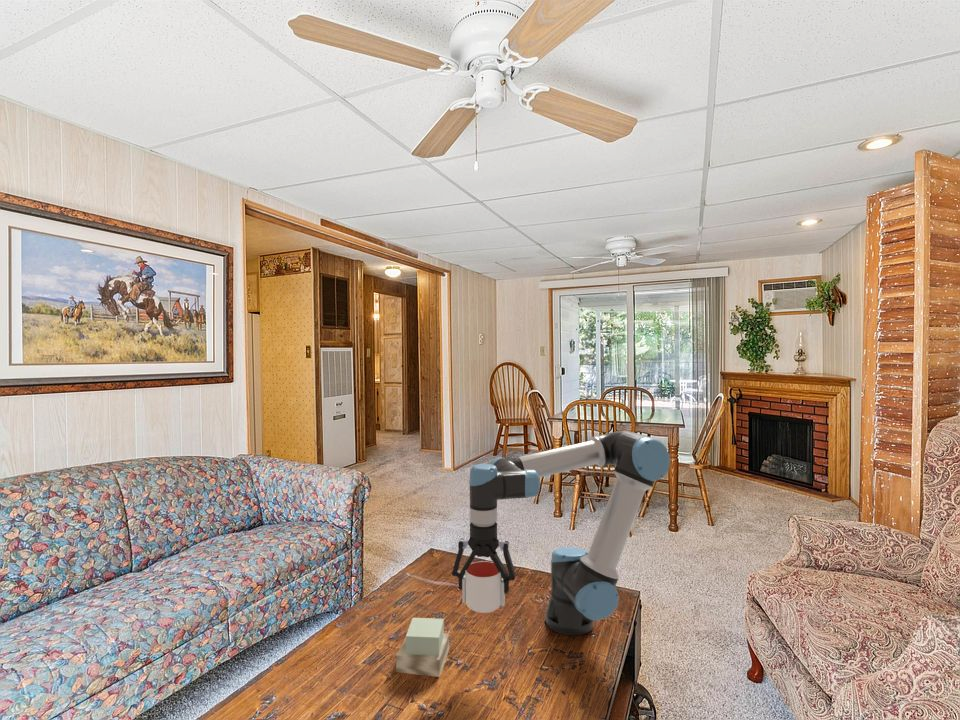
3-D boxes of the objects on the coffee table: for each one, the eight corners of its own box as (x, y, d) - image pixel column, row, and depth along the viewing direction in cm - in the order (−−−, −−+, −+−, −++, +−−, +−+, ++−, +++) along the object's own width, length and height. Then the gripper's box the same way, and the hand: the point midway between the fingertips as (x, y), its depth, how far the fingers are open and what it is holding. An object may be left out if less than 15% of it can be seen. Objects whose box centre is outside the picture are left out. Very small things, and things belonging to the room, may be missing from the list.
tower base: (449, 650, 140) (449, 633, 140) (439, 678, 128) (439, 659, 128) (409, 646, 142) (409, 629, 142) (396, 673, 130) (396, 655, 130)
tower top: (443, 636, 139) (443, 618, 139) (438, 655, 130) (438, 637, 130) (412, 634, 139) (412, 617, 139) (405, 654, 130) (405, 636, 130)
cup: (498, 616, 127) (498, 579, 127) (461, 612, 129) (461, 575, 129) (504, 597, 137) (504, 562, 137) (470, 594, 139) (469, 559, 139)
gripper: (525, 519, 134) (525, 598, 135) (446, 515, 138) (446, 592, 139) (523, 529, 127) (523, 612, 128) (440, 524, 131) (440, 605, 131)
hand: (483, 602), depth 133 cm, fingers closed on cup, 10 cm apart
